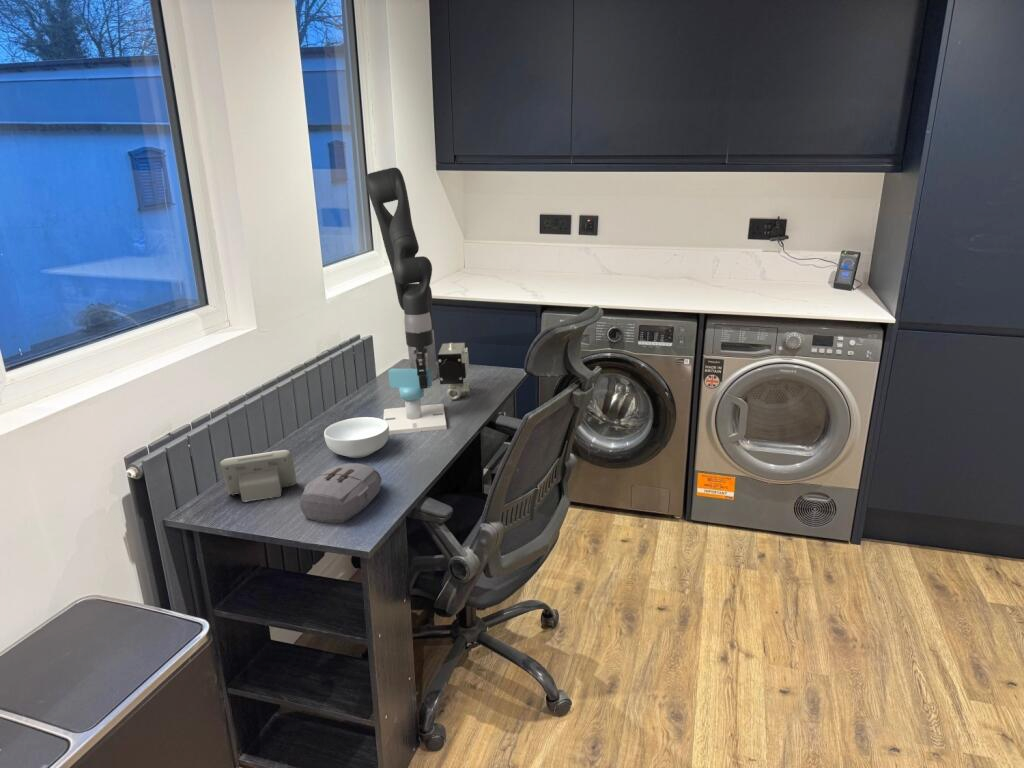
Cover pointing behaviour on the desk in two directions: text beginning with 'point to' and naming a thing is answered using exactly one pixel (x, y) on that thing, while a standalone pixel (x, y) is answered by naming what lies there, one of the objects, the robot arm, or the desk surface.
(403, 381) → the blue switch lever
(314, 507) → the small grey backpack
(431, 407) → the base plate
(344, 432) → the cereal bowl
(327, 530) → the desk surface
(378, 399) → the desk surface
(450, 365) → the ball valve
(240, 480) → the digital clock
